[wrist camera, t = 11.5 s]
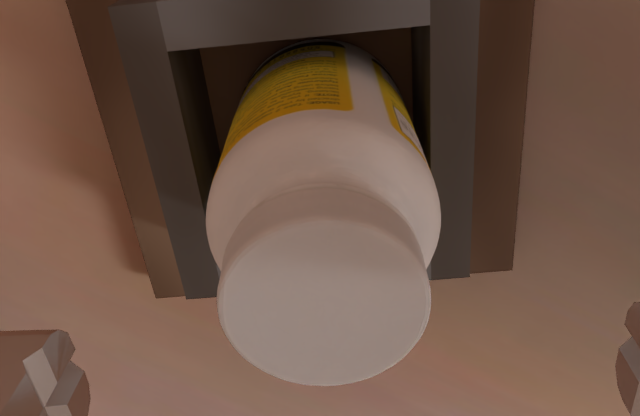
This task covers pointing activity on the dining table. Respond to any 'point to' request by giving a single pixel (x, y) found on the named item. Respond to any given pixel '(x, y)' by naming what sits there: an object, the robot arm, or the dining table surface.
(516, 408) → the dining table surface
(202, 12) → the socket holder
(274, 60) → the supplement bottle
